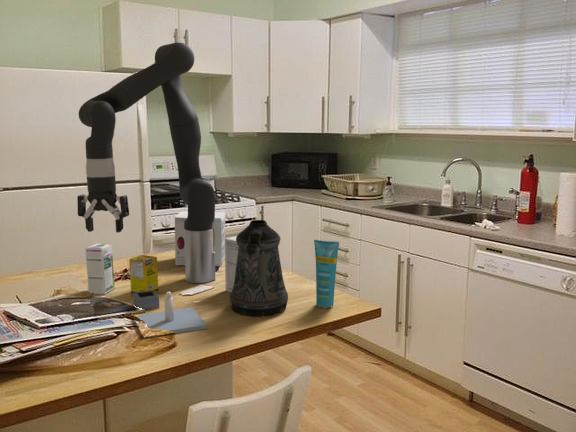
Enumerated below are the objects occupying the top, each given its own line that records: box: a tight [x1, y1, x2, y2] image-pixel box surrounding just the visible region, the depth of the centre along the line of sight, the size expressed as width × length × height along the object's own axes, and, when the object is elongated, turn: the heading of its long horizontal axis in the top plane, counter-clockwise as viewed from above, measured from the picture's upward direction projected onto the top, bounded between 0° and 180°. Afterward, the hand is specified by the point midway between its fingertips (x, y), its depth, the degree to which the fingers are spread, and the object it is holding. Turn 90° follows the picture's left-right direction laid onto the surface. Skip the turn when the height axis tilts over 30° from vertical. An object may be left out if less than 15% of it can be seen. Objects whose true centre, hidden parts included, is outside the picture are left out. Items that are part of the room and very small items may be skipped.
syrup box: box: [84, 243, 116, 295], centre depth 166 cm, size 6×6×14 cm
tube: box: [313, 239, 340, 308], centre depth 155 cm, size 7×5×19 cm, turn 73°
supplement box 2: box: [174, 210, 226, 267], centre depth 201 cm, size 17×13×18 cm
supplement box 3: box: [224, 235, 239, 293], centre depth 168 cm, size 10×9×17 cm
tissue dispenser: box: [132, 290, 160, 311], centre depth 154 cm, size 6×6×4 cm
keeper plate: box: [138, 291, 208, 334], centre depth 141 cm, size 16×14×8 cm
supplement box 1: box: [128, 254, 159, 294], centre depth 166 cm, size 6×6×11 cm
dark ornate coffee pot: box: [229, 219, 289, 318], centre depth 151 cm, size 16×19×25 cm
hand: (104, 231), depth 154 cm, fingers open, 8 cm apart
